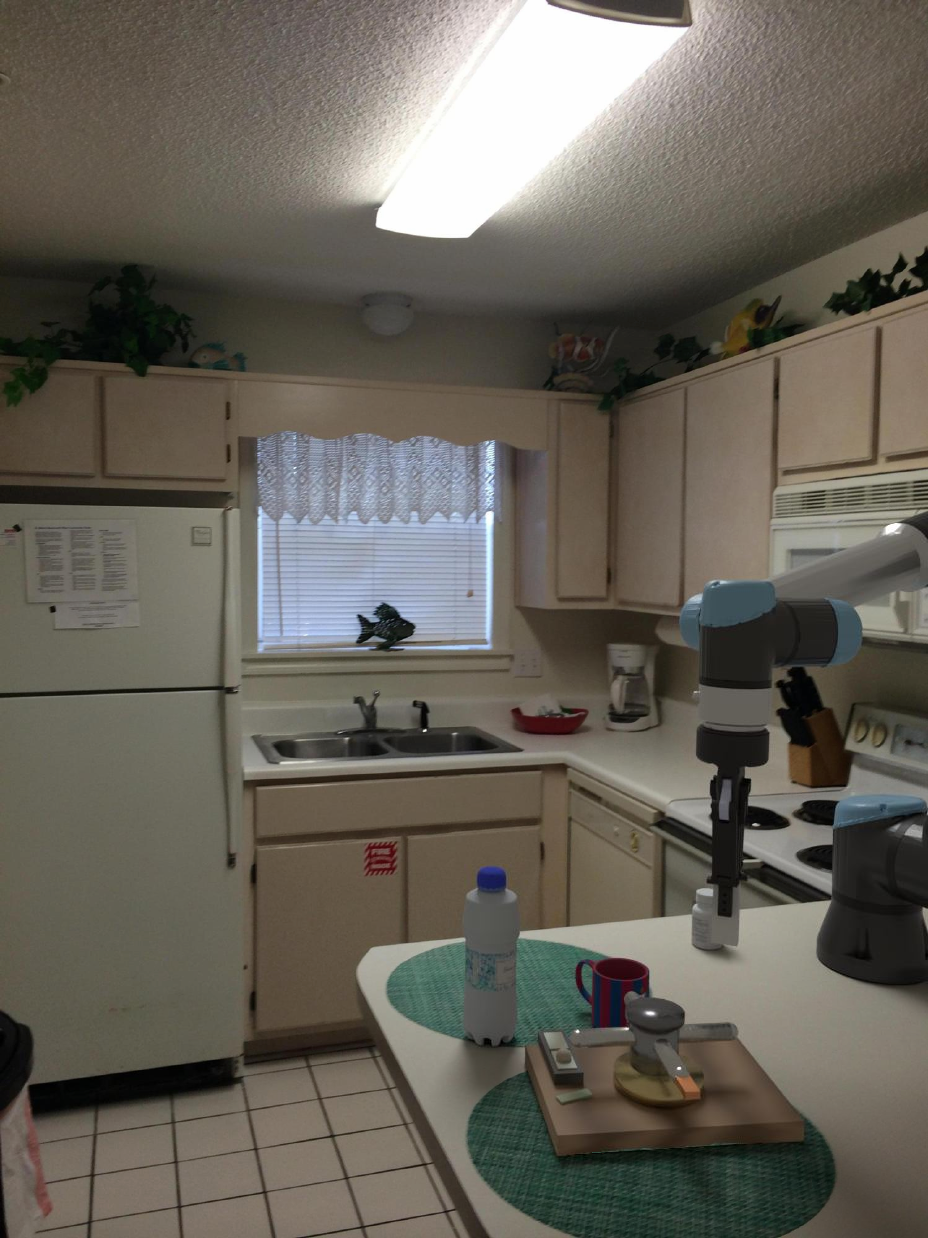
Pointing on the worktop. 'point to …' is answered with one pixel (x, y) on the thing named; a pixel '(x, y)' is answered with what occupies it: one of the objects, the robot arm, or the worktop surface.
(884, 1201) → the worktop surface
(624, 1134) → the stand
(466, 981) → the bottle
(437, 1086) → the worktop surface
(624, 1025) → the mug
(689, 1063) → the capstan
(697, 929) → the pill bottle
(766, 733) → the robot arm
